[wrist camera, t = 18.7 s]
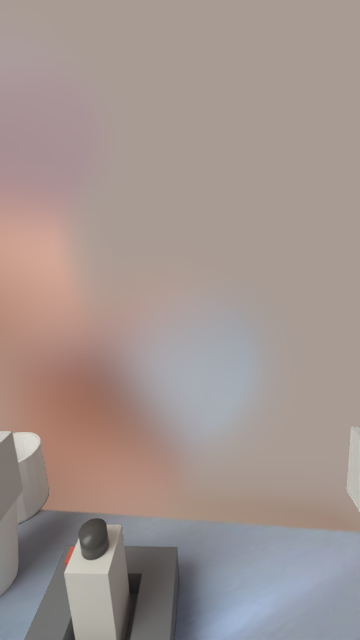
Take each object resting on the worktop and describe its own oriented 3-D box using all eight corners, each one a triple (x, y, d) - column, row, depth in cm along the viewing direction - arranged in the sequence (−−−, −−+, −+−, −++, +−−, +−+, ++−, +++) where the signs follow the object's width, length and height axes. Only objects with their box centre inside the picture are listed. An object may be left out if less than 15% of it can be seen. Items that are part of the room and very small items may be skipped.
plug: (131, 606, 34) (120, 508, 31) (119, 665, 29) (105, 555, 27) (96, 605, 34) (82, 508, 32) (79, 663, 30) (60, 554, 27)
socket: (178, 576, 39) (176, 543, 38) (167, 753, 25) (163, 709, 24) (71, 573, 40) (66, 541, 39) (4, 742, 26) (-7, 699, 25)
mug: (58, 480, 56) (50, 431, 54) (31, 528, 47) (20, 470, 45) (-8, 482, 57) (-19, 433, 55) (-48, 530, 47) (-63, 472, 45)
